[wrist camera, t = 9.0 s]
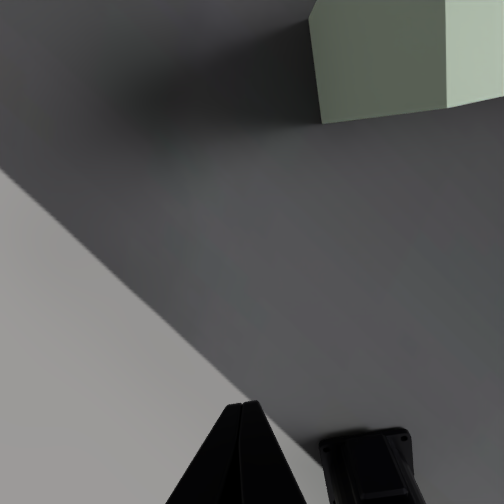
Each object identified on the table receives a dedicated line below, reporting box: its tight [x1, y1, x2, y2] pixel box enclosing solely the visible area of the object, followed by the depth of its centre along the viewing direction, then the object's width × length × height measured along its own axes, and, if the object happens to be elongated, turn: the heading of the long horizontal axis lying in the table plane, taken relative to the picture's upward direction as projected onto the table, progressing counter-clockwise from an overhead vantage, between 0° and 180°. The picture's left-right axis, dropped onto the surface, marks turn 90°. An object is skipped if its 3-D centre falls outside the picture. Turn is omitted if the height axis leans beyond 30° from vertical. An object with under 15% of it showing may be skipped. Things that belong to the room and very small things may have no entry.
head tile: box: [308, 0, 504, 124], centre depth 11 cm, size 2×5×12 cm, turn 12°
